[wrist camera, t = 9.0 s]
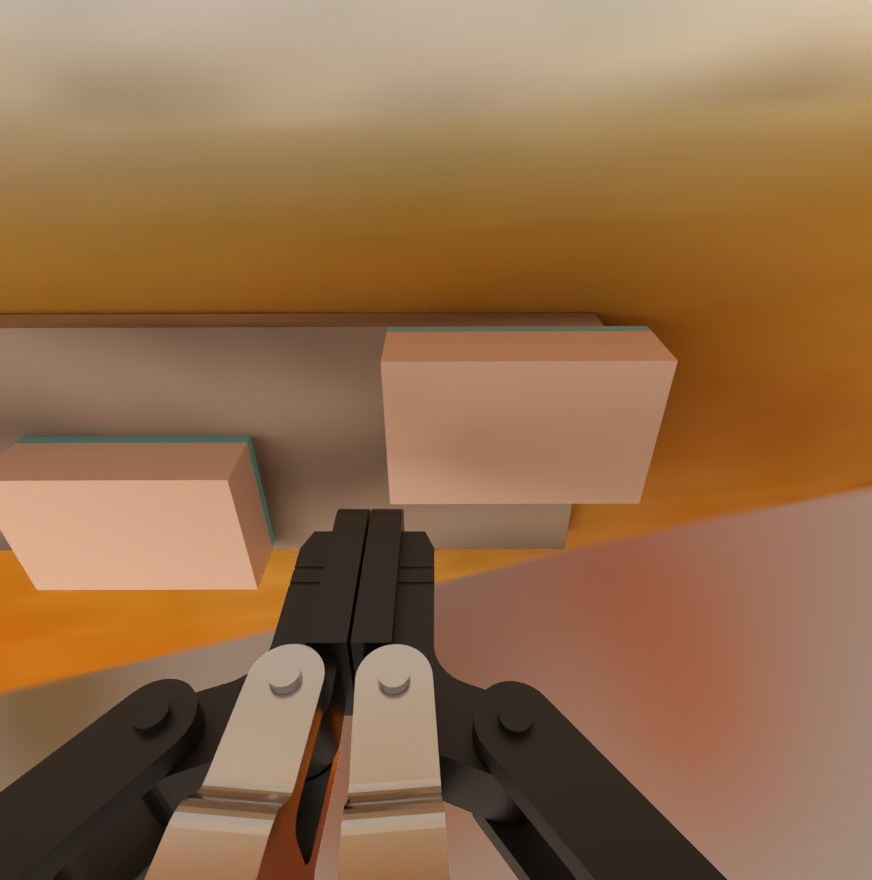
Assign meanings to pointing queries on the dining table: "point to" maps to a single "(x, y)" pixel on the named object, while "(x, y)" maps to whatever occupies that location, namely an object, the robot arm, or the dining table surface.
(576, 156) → the dining table surface
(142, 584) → the tile
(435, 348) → the tile
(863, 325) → the dining table surface
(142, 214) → the dining table surface
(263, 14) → the dining table surface
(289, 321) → the board
